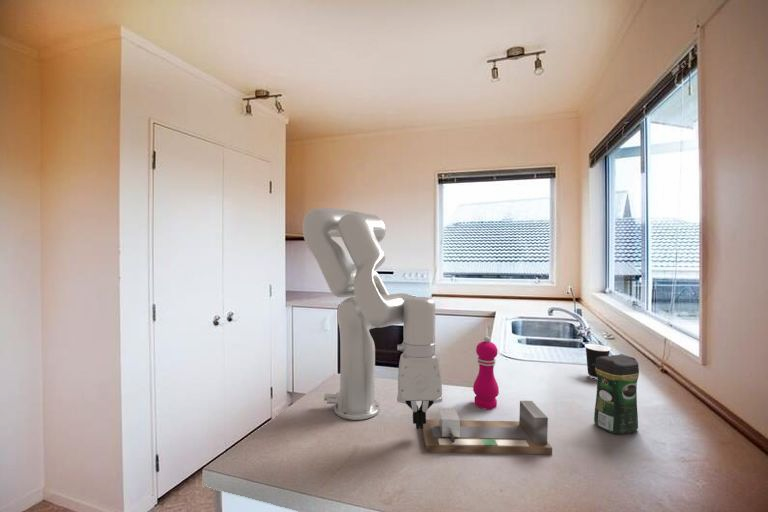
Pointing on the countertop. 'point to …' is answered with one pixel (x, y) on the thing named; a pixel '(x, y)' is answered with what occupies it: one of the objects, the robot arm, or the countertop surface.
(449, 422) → the gauge slider
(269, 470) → the countertop surface
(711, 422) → the countertop surface
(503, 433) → the base
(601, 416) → the coffee jar
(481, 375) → the pepper mill
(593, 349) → the dixie cup
